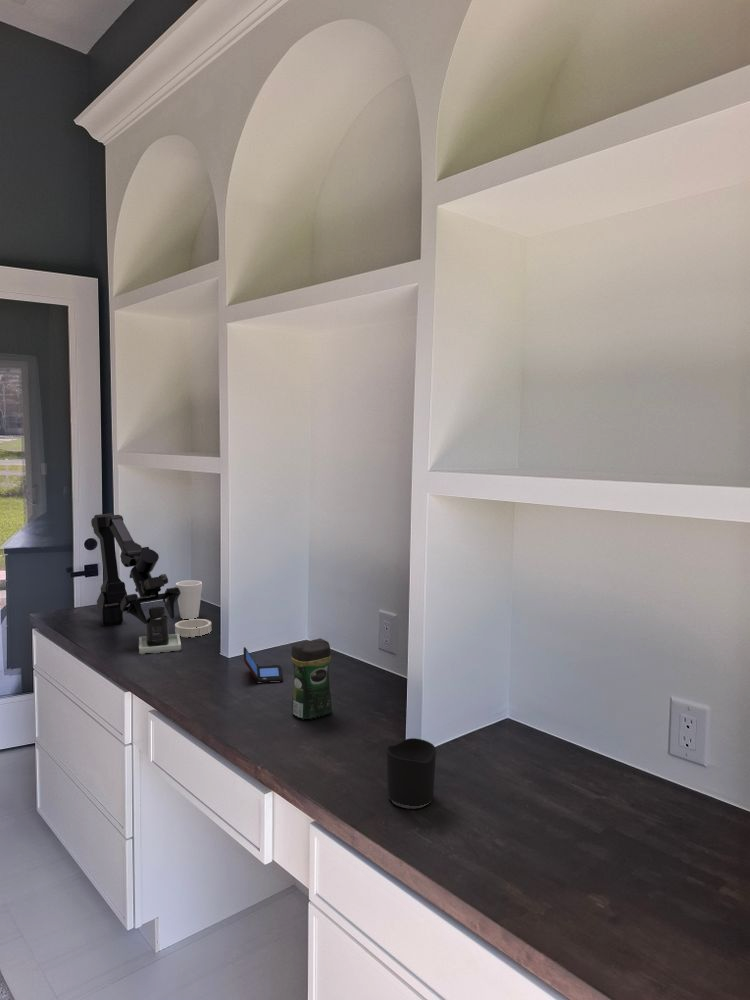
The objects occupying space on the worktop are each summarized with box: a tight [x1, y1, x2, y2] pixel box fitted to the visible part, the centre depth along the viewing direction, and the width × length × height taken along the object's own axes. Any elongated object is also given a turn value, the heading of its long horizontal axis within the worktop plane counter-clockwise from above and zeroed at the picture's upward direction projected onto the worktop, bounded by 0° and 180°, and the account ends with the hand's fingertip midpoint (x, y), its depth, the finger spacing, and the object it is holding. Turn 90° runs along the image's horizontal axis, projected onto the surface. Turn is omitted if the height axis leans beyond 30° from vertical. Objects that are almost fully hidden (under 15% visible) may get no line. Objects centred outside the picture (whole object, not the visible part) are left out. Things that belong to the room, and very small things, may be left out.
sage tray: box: [138, 633, 182, 655], centre depth 228 cm, size 13×13×2 cm
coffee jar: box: [290, 637, 333, 720], centre depth 175 cm, size 10×8×19 cm
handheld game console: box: [243, 646, 284, 683], centre depth 202 cm, size 12×11×7 cm
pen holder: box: [386, 737, 437, 806], centre depth 135 cm, size 9×9×10 cm
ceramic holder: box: [174, 618, 212, 638], centre depth 244 cm, size 12×12×3 cm
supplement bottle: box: [145, 606, 170, 647], centre depth 227 cm, size 7×7×12 cm
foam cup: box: [175, 579, 203, 620], centre depth 262 cm, size 10×9×13 cm
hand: (159, 620), depth 226 cm, fingers open, 9 cm apart
